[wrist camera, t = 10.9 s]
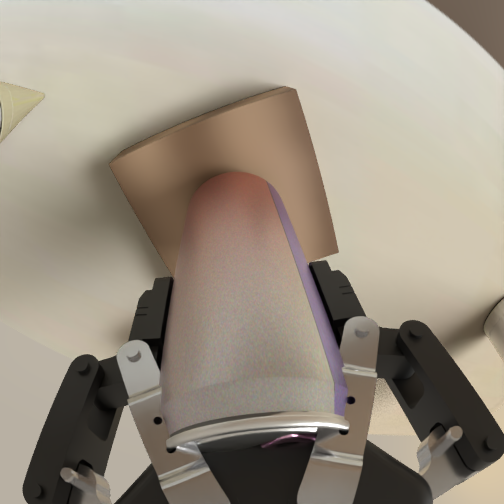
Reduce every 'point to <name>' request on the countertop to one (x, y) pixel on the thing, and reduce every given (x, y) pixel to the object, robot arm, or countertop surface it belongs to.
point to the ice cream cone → (15, 106)
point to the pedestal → (229, 169)
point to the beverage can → (246, 328)
